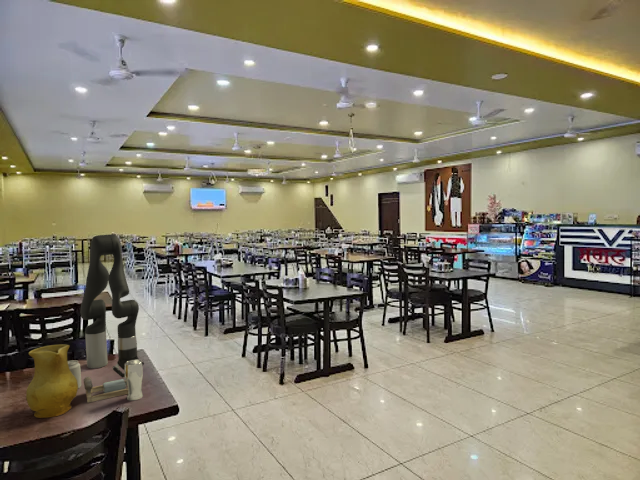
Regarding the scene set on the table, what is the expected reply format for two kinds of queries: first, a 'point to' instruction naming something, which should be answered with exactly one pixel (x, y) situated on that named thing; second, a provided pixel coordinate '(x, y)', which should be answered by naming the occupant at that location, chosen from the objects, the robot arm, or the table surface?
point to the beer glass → (134, 379)
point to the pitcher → (51, 382)
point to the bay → (92, 389)
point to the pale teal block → (114, 386)
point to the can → (75, 370)
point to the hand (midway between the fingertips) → (129, 385)
